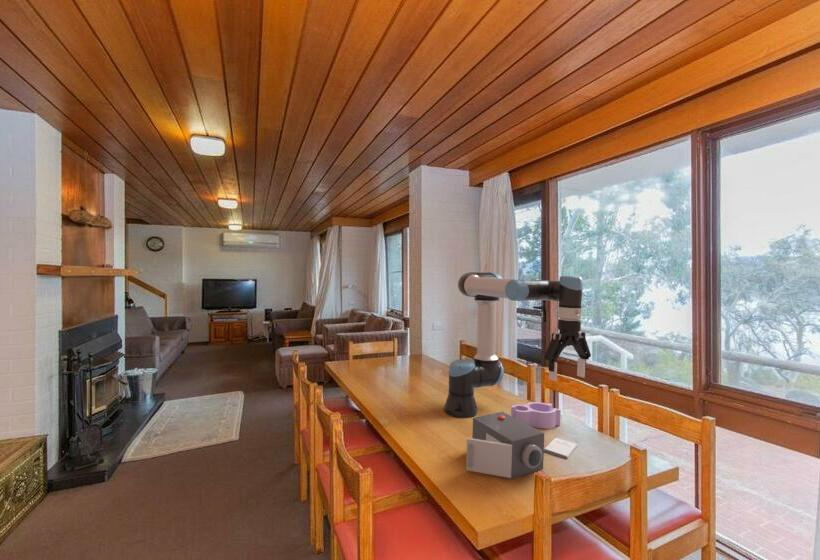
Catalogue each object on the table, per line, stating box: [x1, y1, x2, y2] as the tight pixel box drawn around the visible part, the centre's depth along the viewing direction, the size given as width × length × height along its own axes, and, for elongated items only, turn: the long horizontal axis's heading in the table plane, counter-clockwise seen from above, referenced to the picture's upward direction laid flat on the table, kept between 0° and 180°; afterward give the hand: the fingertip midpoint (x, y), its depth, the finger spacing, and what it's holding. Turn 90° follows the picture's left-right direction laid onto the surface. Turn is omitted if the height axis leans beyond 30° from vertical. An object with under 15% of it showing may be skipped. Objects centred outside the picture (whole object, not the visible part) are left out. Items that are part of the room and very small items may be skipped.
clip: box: [510, 401, 562, 430], centre depth 157 cm, size 20×12×7 cm, turn 100°
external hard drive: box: [544, 437, 578, 460], centre depth 135 cm, size 2×8×12 cm
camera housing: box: [471, 411, 545, 480], centre depth 125 cm, size 23×14×13 cm, turn 28°
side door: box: [465, 437, 512, 479], centre depth 115 cm, size 14×2×10 cm, turn 73°
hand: (567, 378), depth 130 cm, fingers open, 13 cm apart
